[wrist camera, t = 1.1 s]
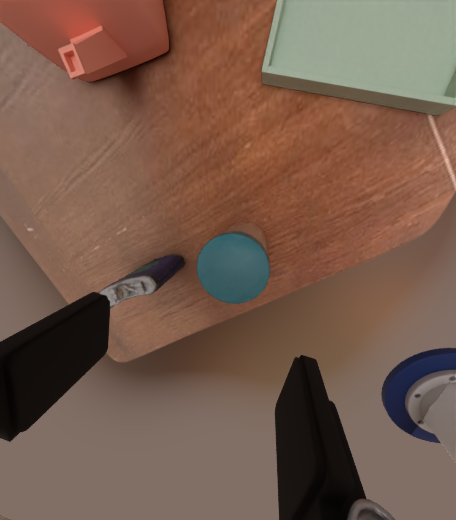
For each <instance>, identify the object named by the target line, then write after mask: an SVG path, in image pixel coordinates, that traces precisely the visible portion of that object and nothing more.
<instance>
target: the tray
mask: <svg viewBox="0 0 456 520" xmlns="http://www.w3.org/2000/svg"><path fill="white" fill-rule="evenodd" d="M262 84H266V85H272V86H277V87H283V88H288V89H294V90H300V91H305V92H311V93H316V94H322V95H327V96H333V97H338V98H344V99H349V100H355V101H360V102H366V103H371V104H377V105H382V106H388V107H393V108H399V109H405V110H410V111H416V112H421V113H427V114H432V115H441V114H443V113H445V112H447V111H449V110H451V109H453V108H455V107H456V0H277V4H276V8H275V13H274V17H273V22H272V26H271V31H270V35H269V40H268V44H267V49H266V53H265V58H264V62H263V67H262Z"/></svg>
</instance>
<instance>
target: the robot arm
mask: <svg viewBox="0 0 456 520" xmlns="http://www.w3.org/2000/svg"><path fill="white" fill-rule="evenodd" d="M109 318H110V300H108V297H107V296H106V295H103V294H100V293H96V292H92V293H90V294H88V295H86V296H84V297H82V298H81V299H79V300H77V301H75V302H73V303H71V304H69V305H68V306H66V307H64V308H62V309H60V310H59V311H57V312H55V313H53V314H51V315H49V316H47V317H45V318H44V319H42V320H40V321H38V322H36V323H34V324H32V325H31V326H29V327H27V328H25V329H24V330H22V331H20V332H18V333H16V334H14V335H12V336H10V337H8V338H7V339H5V340H3V341H1V342H0V438H2V439H4V440H7V441H9V442H10V441H11V440H13V438H15V437H16V436H17V435H18V434H19V433H20V432H23V431H26V430H27V429H29V427H31V425H33V424H34V423H35V422H36V421H37V420H38V419H39V418H40V417H41V416H42V415H43V414H44V413H45V412H46V411H47V410H48V409H49V408H50V407H51V406H52V405H53V404H54V403H56V402H57V401H58V399H60V397H62V396H63V395H64V394H65V393H66V392H67V391H68V390H69V389H70V388H71V387H72V386H73V385H74V384H75V383H76V382H77V381H78V380H79V379H80V378H81V377H82V376H83V375H84V374H85V373H86V372H87V371H89V370H90V369H91V368H92V367H93V366H94V365H95V364H96V363H97V362H98V361H99V360H100V359H101V358H102V357H103V356H104V355H105V353H106V352H107V349H108V337H109ZM405 408H406V410H407V412H408V414H409V415H410V417H411V419H412V420H413V421H414V422H415V423H416V424H417V425H418V426H419V427H421V428H422V429H424V430H426V431H428V432H430V433H433V434H435V435H436V437H437V438H438V440H439V441H440V442H441V444H442V445H443V447H444V448H445V449H446V451H447V452H448V454H449V455H450V456H451V458H452V459H453V461H454V462H455V463H456V370H442V371H437V372H434V373H431V374H428V375H426V376H424V377H422V378H420V379H419V380H417V381H416V382H415V383H414V384H413V385H412V386H411V387H410V389H409V390H408V392H407V394H406V396H405ZM275 427H276V451H277V474H278V475H277V476H278V501H279V520H395V519H394V518H393V517H392V516H391V514H390V513H389V512H387V511H386V510H385V509H384V508H382V507H381V506H380V505H378V504H377V503H375V502H373V501H371V500H368V499H366V496H365V493H364V490H363V487H362V484H361V481H360V478H359V475H358V472H357V469H356V466H355V463H354V460H353V457H352V454H351V451H350V448H349V445H348V442H347V439H346V436H345V433H344V430H343V427H342V424H341V421H340V418H339V415H338V412H337V409H336V407H335V404H334V403H333V402H332V401H329V399H328V396H327V393H326V389H325V386H324V383H323V380H322V376H321V373H320V370H319V367H318V363H317V361H316V360H315V359H313V358H310V357H307V356H303V355H301V356H300V357H299V358H297V357H296V358H295V359H294V361H293V364H292V366H291V368H290V371H289V373H288V376H287V378H286V381H285V383H284V386H283V388H282V391H281V393H280V396H279V398H278V401H277V403H276V408H275ZM0 520H9V519H7V518H5V517H3V516H1V515H0Z"/></svg>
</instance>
